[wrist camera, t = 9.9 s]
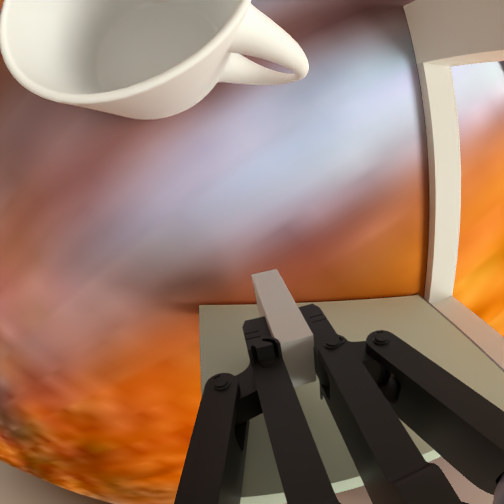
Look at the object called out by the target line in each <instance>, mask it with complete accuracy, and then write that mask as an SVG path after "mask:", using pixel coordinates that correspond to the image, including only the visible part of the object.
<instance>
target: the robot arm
mask: <svg viewBox="0 0 504 504" xmlns="http://www.w3.org/2000/svg"><path fill="white" fill-rule="evenodd" d="M252 281H253V286H254V291H255V296H256V301H257V307H258V312H259V316H260V317H259V318H254V319H250V320H246V321H245V322H244V324H243V327H242V329H243V333H244V337H245V341H246V346H247V350H248V354H249V358H250V363H249V366H248V367H247V369H245V370H244V371H243V372H241V373H240V374H238V375H236V376H234V375H232V374H230V373H219V374H216V375H214V376H212V377H211V378H209V379H208V380H207V382H206V384H205V387H204V391H203V395H202V399H201V402H200V406H199V410H198V414H197V418H196V421H195V425H194V429H193V433H192V436H191V440H190V444H189V448H188V452H187V456H186V459H185V463H184V467H183V471H182V475H181V479H180V483H179V487H178V490H177V494H176V498H175V502H174V504H240V500H241V492H242V483H243V475H244V467H245V458H246V450H247V441H248V432H249V423H250V421H249V420H250V419H252V418H254V417H256V416H258V415H260V414H262V413H263V415H264V419H265V423H266V427H267V430H268V434H269V438H270V442H271V446H272V450H273V453H274V457H275V461H276V464H277V468H278V472H279V476H280V479H281V483H282V487H283V490H284V494H285V497H286V501H287V504H341V503H339V501H338V500H337V498H336V495H335V493H334V490H333V488H332V485H331V482H330V480H329V477H328V475H327V472H326V470H325V467H324V464H323V462H322V459H321V457H320V454H319V452H318V449H317V446H316V444H315V441H314V439H313V436H312V433H311V431H310V428H309V426H308V423H307V420H306V418H305V415H304V413H303V410H302V407H301V405H300V402H299V400H298V397H297V394H296V392H295V389H294V387H297V386H301V385H304V384H308V383H311V382H315V381H316V374H317V376H318V378H319V385H320V399H321V400H322V399H323V396H324V398H325V401H326V403H327V405H328V407H329V409H330V412H331V414H332V416H333V418H334V420H335V422H336V425H337V427H338V429H339V431H340V433H341V435H342V438H343V440H344V442H345V444H346V446H347V449H348V451H349V453H350V455H351V457H352V459H353V462H354V464H355V466H356V468H357V470H358V473H359V475H360V477H361V479H362V481H363V483H364V486H365V488H366V490H367V492H368V494H369V497H370V499H371V501H372V503H373V504H468V503H465V502H461V501H460V499H459V497H458V496H457V494H456V493H455V491H454V489H453V488H452V486H451V484H450V483H449V481H448V480H447V478H446V477H445V475H444V473H443V472H442V470H441V469H440V468H439V466H437V465H436V464H434V463H428V462H426V460H425V459H424V457H423V456H422V454H421V453H420V451H419V449H418V448H417V446H416V445H415V443H414V441H413V440H412V438H411V437H410V435H409V434H408V432H407V430H406V429H405V427H404V426H403V424H402V423H401V421H403V422H404V423H405V424H406V425H407V426H408V427H409V428H410V429H411V430H413V431H414V432H415V433H416V434H417V435H418V436H419V437H420V438H421V439H423V440H424V441H425V442H426V443H427V444H428V445H429V446H430V447H432V448H433V449H434V450H435V451H436V452H437V453H438V454H439V455H441V456H442V457H443V458H444V459H445V460H446V461H447V462H449V463H450V464H451V465H452V466H453V467H454V468H456V469H457V470H458V471H459V472H460V473H461V474H463V476H465V477H466V478H467V479H468V480H469V481H470V482H472V483H473V484H474V485H476V486H477V487H479V488H480V489H482V490H484V491H485V492H487V493H490V494H493V495H494V500H493V504H504V411H503V410H501V409H500V408H498V407H497V406H496V405H494V404H493V403H491V402H490V401H489V400H487V399H486V398H484V397H483V396H482V395H480V394H479V393H477V392H476V391H474V390H473V389H472V388H470V387H469V386H467V385H466V384H465V383H463V382H462V381H460V380H459V379H457V378H456V377H455V376H453V375H452V374H450V373H449V372H447V371H446V370H445V369H443V368H442V367H440V366H439V365H437V364H436V363H435V362H433V361H432V360H430V359H429V358H427V357H426V356H425V355H423V354H422V353H420V352H419V351H417V350H416V349H415V348H413V347H412V346H410V345H409V344H407V343H406V342H404V341H403V340H402V339H400V338H399V337H397V336H396V335H394V334H393V333H391V332H389V331H385V330H377V331H374V332H371V333H370V334H369V335H368V336H367V338H366V341H358V342H351V341H348V340H347V339H346V338H345V337H344V336H341V335H338V334H337V333H336V331H335V330H334V328H333V327H332V325H331V324H330V322H329V321H328V319H327V318H326V316H325V315H324V313H323V312H322V310H321V309H320V307H318V306H316V305H314V304H309V305H305V306H301V307H298V306H297V304H296V303H295V301H294V299H293V297H292V295H291V294H290V292H289V290H288V288H287V286H286V285H285V283H284V281H283V279H282V277H281V276H280V274H279V272H278V270H277V269H274V270H270V271H265V272H261V273H256V274H252ZM400 420H401V421H400Z"/></svg>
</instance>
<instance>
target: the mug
mask: <svg viewBox="0 0 504 504" xmlns="http://www.w3.org/2000/svg"><path fill="white" fill-rule="evenodd" d="M250 2H251V0H4V2H3V5H2V9H1V13H0V50H1V54H2V57H3V59H4V62H5V64H6V66H7V68H8V69H9V71H10V73H11V74H12V76H13V77H14V78H15V79H16V80H17V81H18V82H19V83H20V84H21V85H22V86H23V87H25V88H26V89H27V90H29V91H30V92H31V93H34V94H36V95H38V96H40V97H42V98H44V99H48V100H51V101H55V102H58V103H64V104H69V105H74V106H79V107H84V108H88V109H93V110H98V111H102V112H107V113H111V114H115V115H119V116H123V117H128V118H133V119H143V120H149V119H160V118H166V117H169V116H173V115H176V114H178V113H181V112H183V111H185V110H187V109H189V108H191V107H192V106H194V105H195V104H197V103H198V102H199V101H201V100H202V99H203V98H204V97H205V96H206V95H207V94H208V93H209V92H210V91H211V90H212V89H213V87H214V86H215V85H216V84H217V83H218V82H228V83H238V84H250V85H276V84H285V83H290V82H294V81H298V80H300V79H302V78H304V77H305V76H306V74H307V73H308V70H309V65H308V60H307V58H306V56H305V54H304V52H303V50H302V49H301V47H300V46H299V45H298V43H297V42H296V41H295V40H294V39H293V38H292V37H291V36H290V35H289V34H288V33H286V32H285V31H284V30H283V29H282V28H281V27H280V26H278V25H277V24H276V23H275V22H273V21H272V20H271V19H270V18H268V17H267V16H266V15H264V14H263V13H262V12H260V11H259V10H258V9H257V8H255V7H254V6H253V5H252V4H251V3H250ZM239 53H240V54H239ZM241 54H245V55H249V56H254V57H257V58H261V59H264V60H268V61H271V62H274V63H276V64H279V65H281V66H284V67H286V68H288V69H290V70H292V71H293V72H294V73H291V74H289V73H281V72H277V71H274V70H271V69H268V68H265V67H263V66H261V65H258V64H256V63H254V62H252V61H251V60H249V59H247V58H245V57H244V56H242V55H241Z"/></svg>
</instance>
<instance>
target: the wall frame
mask: <svg viewBox="0 0 504 504" xmlns="http://www.w3.org/2000/svg"><path fill="white" fill-rule="evenodd" d="M403 8H404V12H405V15H406V19H407V23H408V27H409V31H410V35H411V39H412V44H413V48H414V53H415V58H416V63H417V68H418V74H419V80H420V86H421V93H422V100H423V107H424V115H425V125H426V135H427V147H428V164H429V198H430V210H429V245H428V261H427V274H426V285H425V294H424V298H425V299H426V300H427V301H428V302H429V303H431V304H432V305H433V306H434V307H435V308H437V309H438V310H439V311H440V312H441V313H442V314H444V315H445V316H446V317H447V318H448V319H449V320H450V321H452V322H453V323H454V324H455V325H456V326H457V327H458V328H460V329H461V330H462V331H463V332H464V333H465V334H466V335H467V336H469V337H470V338H471V339H472V340H473V341H474V342H475V343H476V344H477V345H478V346H480V347H481V348H482V349H483V350H484V351H485V352H486V353H487V354H488V355H489V356H490V357H491V358H492V359H493V360H495V361H496V362H497V363H498V364H499V365H500V366H501V367H502V368H503V369H504V337H503V336H501V335H500V334H499V333H498V332H497V331H495V330H494V329H493V328H492V327H491V326H489V325H488V324H487V323H486V322H484V321H483V320H482V319H481V318H480V317H478V316H477V315H476V314H475V313H473V312H472V311H471V310H469V309H468V308H467V307H466V306H464V305H463V304H462V303H461V302H459V301H458V300H457V299H455V298H454V297H453V296H452V293H453V287H454V280H455V272H456V263H457V254H458V243H459V229H460V208H461V162H460V142H459V128H458V117H457V108H456V100H455V93H454V86H453V80H452V74H451V68H450V67H451V66H458V65H465V64H474V63H483V62H494V61H504V0H415V1H413V2H411V3H409V4H407V5H405V6H403Z"/></svg>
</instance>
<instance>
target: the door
mask: <svg viewBox="0 0 504 504" xmlns="http://www.w3.org/2000/svg"><path fill="white" fill-rule="evenodd" d="M296 304H297V306H298V307H301V306H305V305H309V304H314V305H316V306H318V307H320V309H321V310H322V312H323V313H324V315H325V316H326V318H327V319H328V321H329V322H330V324H331V325H332V327H333V328H334V330H335V331H336V333H337V334H338V335H341V336H344V337H345V338H346V339H347V340H348V341H351V342H358V341H366V338H367V336H368V335H369V334H370V333H371V332H374V331H377V330H385V331H389V332H391V333H393V334H394V335H396V336H397V337H399V338H400V339H402V340H403V341H404V342H406V343H407V344H409V345H410V346H412V347H413V348H415V349H416V350H417V351H419V352H420V353H422V354H423V355H425V356H426V357H427V358H429V359H430V360H432V361H433V362H435V363H436V364H437V365H439V366H440V367H442V368H443V369H445V370H446V371H447V372H449V373H450V374H452V375H453V376H455V377H456V378H457V379H459V380H460V381H462V382H463V383H465V384H466V385H467V386H469V387H470V388H472V389H473V390H474V391H476V392H477V393H479V394H480V395H482V396H483V397H484V398H486V399H487V400H489V401H490V402H491V403H493V404H494V405H496V406H497V407H498V408H500V409H501V410H503V411H504V369H503V368H502V367H501V366H500V365H499V364H498V363H497V362H496V361H495V360H493V359H492V358H491V357H490V356H489V355H488V354H487V353H486V352H485V351H484V350H483V349H482V348H481V347H480V346H478V345H477V344H476V343H475V342H474V341H473V340H472V339H471V338H470V337H469V336H467V335H466V334H465V333H464V332H463V331H462V330H461V329H460V328H458V327H457V326H456V325H455V324H454V323H453V322H452V321H450V320H449V319H448V318H447V317H446V316H445V315H444V314H442V313H441V312H440V311H439V310H438V309H437V308H435V307H434V306H433V305H432V304H431V303H429V302H428V301H427V300H426V299H425V298H423V297H422V296H421V295H420V294H418V293H417V294H415V295H414V296H403V297H390V298H377V299H362V300H346V301H329V302H308V303H296ZM259 317H260V316H259V312H258V307H257V304H245V305H199V333H200V366H201V390H202V395H203V391H204V387H205V384H206V382H207V380H208V379H209V378H211V377H212V376H214V375H216V374H219V373H230V374H232V375H234V376H236V375H238V374H240V373H241V372H243V371H244V370H245V369H247V367H248V366H249V363H250V358H249V354H248V350H247V346H246V341H245V337H244V333H243V329H242V327H243V324H244V322H245V321H246V320H250V319H254V318H259ZM294 389H295V392H296V394H297V397H298V400H299V402H300V405H301V407H302V410H303V413H304V415H305V418H306V420H307V423H308V426H309V428H310V431H311V433H312V436H313V439H314V441H315V444H316V446H317V449H318V452H319V454H320V457H321V459H322V462H323V464H324V467H325V470H326V472H327V475H328V477H329V480H330V482H331V485H332V488H333V490H334V493H338V492H342V491H346V490H349V489H353V488H357V487H360V486H363V485H364V483H363V481H362V479H361V477H360V475H359V473H358V470H357V468H356V466H355V464H354V462H353V459H352V457H351V455H350V453H349V451H348V449H347V446H346V444H345V442H344V440H343V438H342V435H341V433H340V431H339V429H338V427H337V425H336V422H335V420H334V418H333V416H332V414H331V412H330V409H329V407H328V405H327V403H326V401H325V398H324V396H323V399H322V400H321V399H320V385H319V378H318V376H317V374H316V381H315V382H311V383H308V384H304V385H301V386H297V387H294ZM249 421H250V423H249V432H248V441H247V450H246V458H245V467H244V475H243V483H242V492H241V500H240V504H284V503H287V501H286V497H285V494H284V490H283V487H282V483H281V479H280V476H279V472H278V468H277V464H276V461H275V457H274V453H273V450H272V446H271V442H270V438H269V434H268V430H267V427H266V423H265V419H264V415H263V413H262V414H260V415H258V416H256V417H254V418H252V419H250V420H249ZM400 421H401V420H400ZM401 423H402V424H403V426H404V427H405V429H406V430H407V432H408V434H409V435H410V437H411V438H412V440H413V441H414V443H415V445H416V446H417V448H418V449H419V451H420V453H421V454H422V456H423V457H424V459H425V460H426V462H429V461H431V460H433V459H436V458H438V457H440V456H441V455H439V454H438V453H437V452H436V451H435V450H434V449H433V448H432V447H430V446H429V445H428V444H427V443H426V442H425V441H424V440H423V439H421V438H420V437H419V436H418V435H417V434H416V433H415V432H414V431H413V430H411V429H410V428H409V427H408V426H407V425H406V424H405V423H404V422H403V421H401Z"/></svg>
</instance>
